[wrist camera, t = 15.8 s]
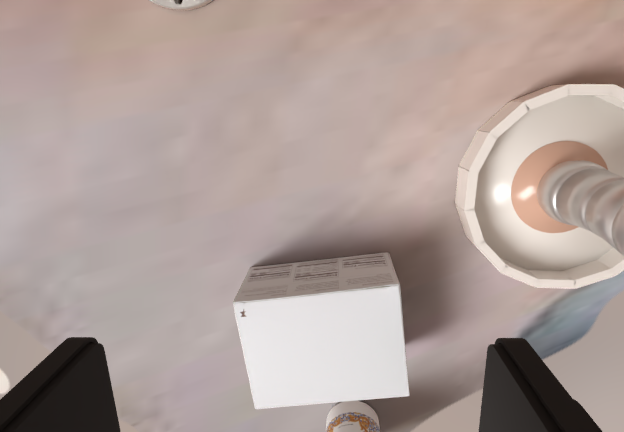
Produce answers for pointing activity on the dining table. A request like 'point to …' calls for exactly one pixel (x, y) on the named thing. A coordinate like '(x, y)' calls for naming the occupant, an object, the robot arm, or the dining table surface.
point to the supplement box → (323, 331)
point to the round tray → (525, 179)
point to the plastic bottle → (585, 199)
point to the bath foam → (352, 418)
